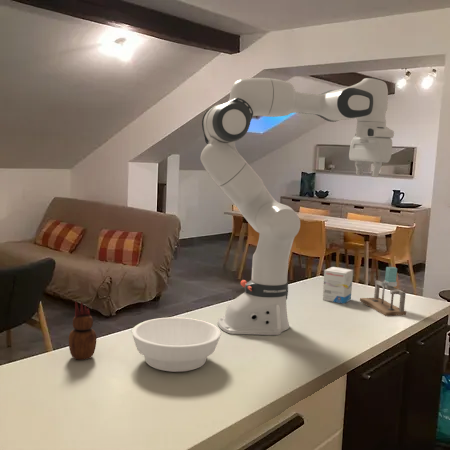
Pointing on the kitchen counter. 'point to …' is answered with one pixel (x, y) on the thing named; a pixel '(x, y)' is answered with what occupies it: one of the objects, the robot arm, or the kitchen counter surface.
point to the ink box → (337, 284)
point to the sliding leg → (389, 279)
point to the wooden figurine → (82, 334)
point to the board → (386, 307)
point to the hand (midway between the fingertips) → (367, 176)
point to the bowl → (176, 342)
